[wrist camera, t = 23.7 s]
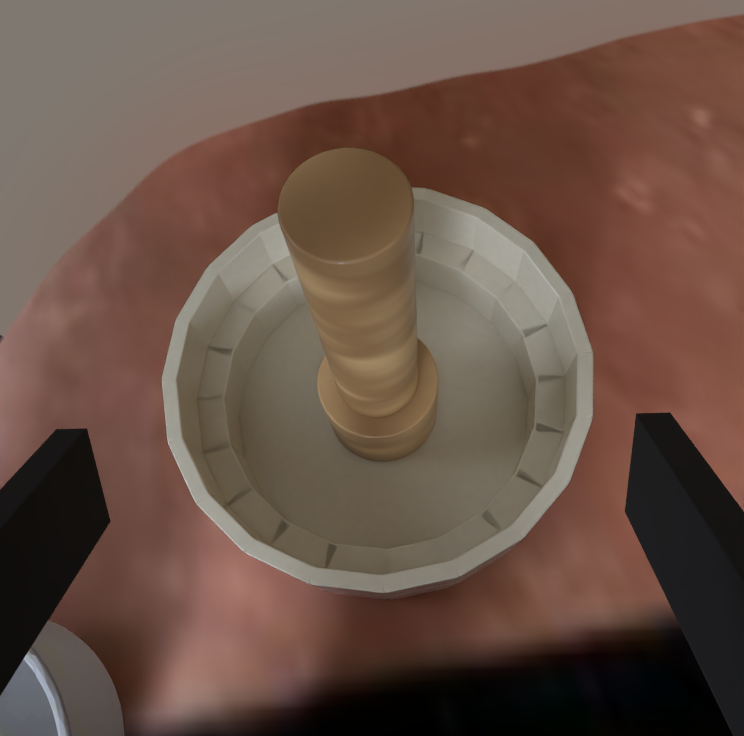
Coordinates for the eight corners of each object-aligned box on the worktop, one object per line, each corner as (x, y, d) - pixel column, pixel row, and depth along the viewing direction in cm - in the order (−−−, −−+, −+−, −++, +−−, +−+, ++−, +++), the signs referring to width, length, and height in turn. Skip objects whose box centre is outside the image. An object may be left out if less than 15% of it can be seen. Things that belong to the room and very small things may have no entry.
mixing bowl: (144, 502, 31) (82, 474, 25) (304, 215, 36) (282, 138, 30) (484, 667, 28) (499, 676, 22) (611, 326, 32) (649, 262, 27)
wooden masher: (311, 436, 31) (205, 252, 16) (357, 344, 32) (299, 96, 17) (410, 479, 30) (397, 326, 15) (453, 383, 31) (480, 153, 16)
